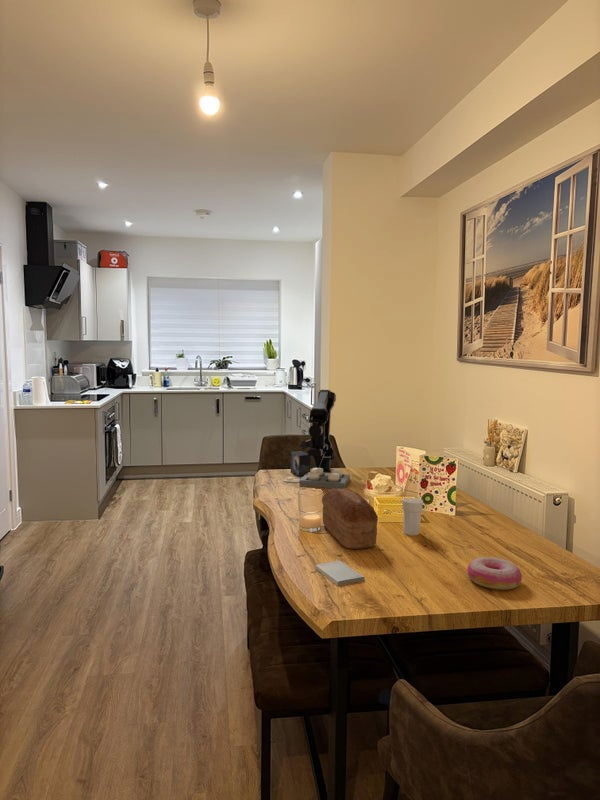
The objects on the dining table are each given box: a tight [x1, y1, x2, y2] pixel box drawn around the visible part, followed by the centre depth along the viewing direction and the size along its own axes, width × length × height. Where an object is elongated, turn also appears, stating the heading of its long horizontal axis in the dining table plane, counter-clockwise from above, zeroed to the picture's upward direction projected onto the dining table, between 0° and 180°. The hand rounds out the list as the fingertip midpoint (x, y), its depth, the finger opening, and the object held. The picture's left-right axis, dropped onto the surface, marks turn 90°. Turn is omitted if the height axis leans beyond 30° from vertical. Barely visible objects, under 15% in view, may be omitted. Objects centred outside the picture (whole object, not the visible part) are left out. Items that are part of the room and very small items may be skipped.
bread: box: [321, 487, 379, 550], centre depth 177 cm, size 12×28×14 cm, turn 14°
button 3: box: [328, 472, 339, 482], centre depth 244 cm, size 5×5×3 cm
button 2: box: [311, 467, 324, 476], centre depth 255 cm, size 5×5×3 cm
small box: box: [290, 450, 312, 478], centre depth 266 cm, size 11×6×10 cm, turn 25°
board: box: [283, 472, 351, 489], centre depth 251 cm, size 18×28×2 cm, turn 77°
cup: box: [401, 497, 424, 536], centre depth 181 cm, size 7×7×11 cm
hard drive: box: [314, 560, 365, 586], centre depth 147 cm, size 2×8×12 cm
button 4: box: [330, 468, 343, 478], centre depth 253 cm, size 5×5×3 cm
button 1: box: [308, 471, 319, 481], centre depth 246 cm, size 5×5×3 cm
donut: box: [466, 556, 523, 591], centre depth 144 cm, size 14×13×5 cm
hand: (317, 467), depth 255 cm, fingers closed
